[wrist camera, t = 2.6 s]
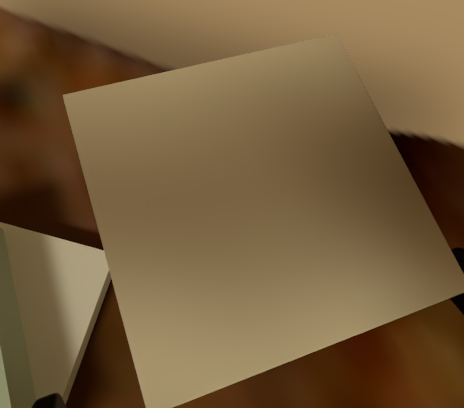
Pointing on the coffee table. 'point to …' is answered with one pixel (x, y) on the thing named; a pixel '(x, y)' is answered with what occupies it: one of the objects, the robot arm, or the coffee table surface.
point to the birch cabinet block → (252, 215)
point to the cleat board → (45, 312)
